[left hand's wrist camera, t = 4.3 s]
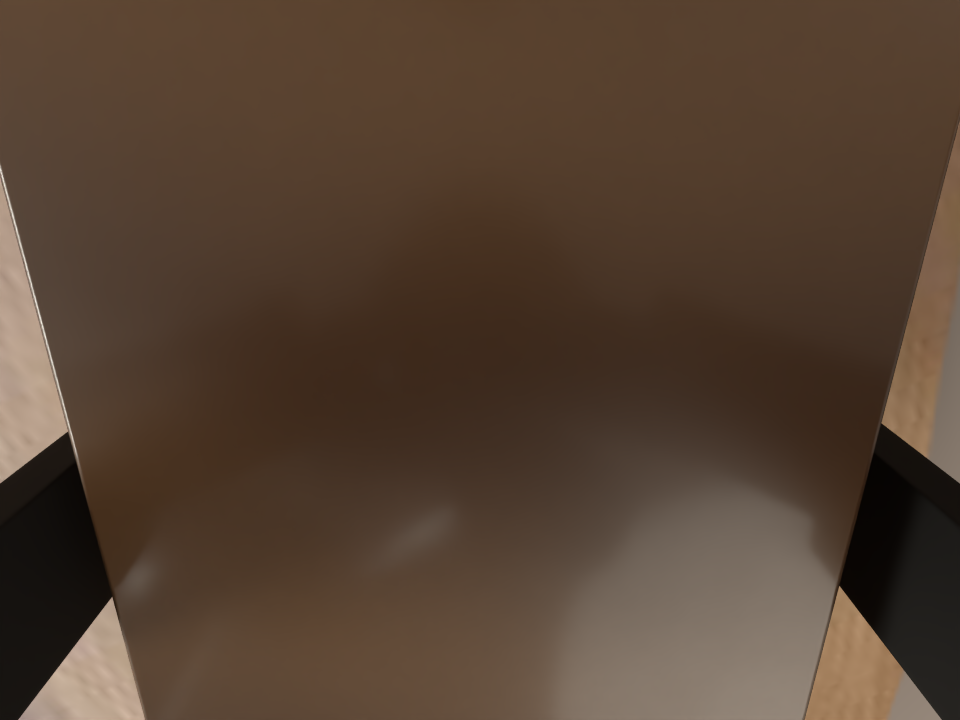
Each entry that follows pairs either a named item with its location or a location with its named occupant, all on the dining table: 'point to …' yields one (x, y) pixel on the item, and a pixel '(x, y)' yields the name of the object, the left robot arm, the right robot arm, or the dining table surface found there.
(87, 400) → the cabinet
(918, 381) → the dining table surface
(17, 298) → the dining table surface
